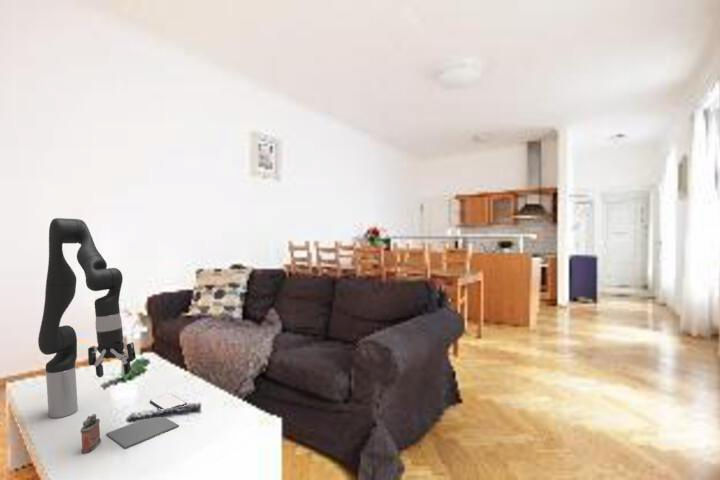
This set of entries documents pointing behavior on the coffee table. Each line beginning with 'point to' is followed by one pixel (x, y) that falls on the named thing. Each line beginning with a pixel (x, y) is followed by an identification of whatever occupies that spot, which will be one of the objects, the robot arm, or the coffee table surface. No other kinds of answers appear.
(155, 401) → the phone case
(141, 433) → the rubber mat
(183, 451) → the coffee table surface
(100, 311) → the robot arm
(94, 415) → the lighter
